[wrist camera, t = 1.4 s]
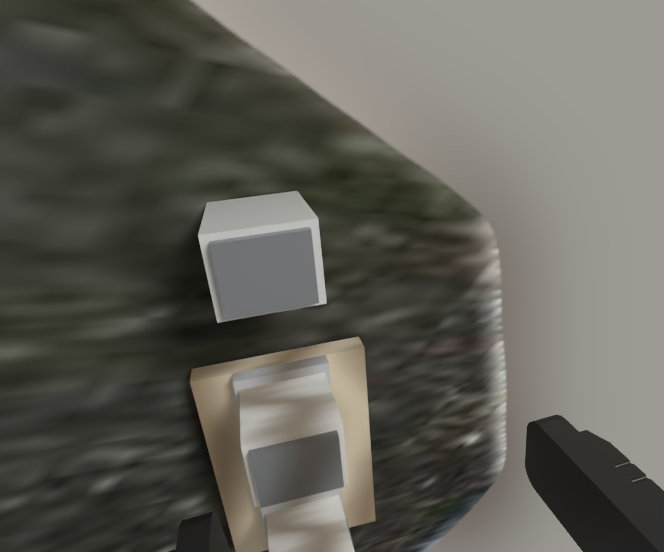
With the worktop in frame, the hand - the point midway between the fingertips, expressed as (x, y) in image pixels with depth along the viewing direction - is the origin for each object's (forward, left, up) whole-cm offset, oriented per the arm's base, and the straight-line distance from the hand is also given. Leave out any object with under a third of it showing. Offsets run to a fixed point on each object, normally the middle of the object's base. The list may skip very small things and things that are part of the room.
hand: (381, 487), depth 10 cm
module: (-2, +2, -19) cm, 19 cm away
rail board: (-2, -16, -19) cm, 25 cm away
